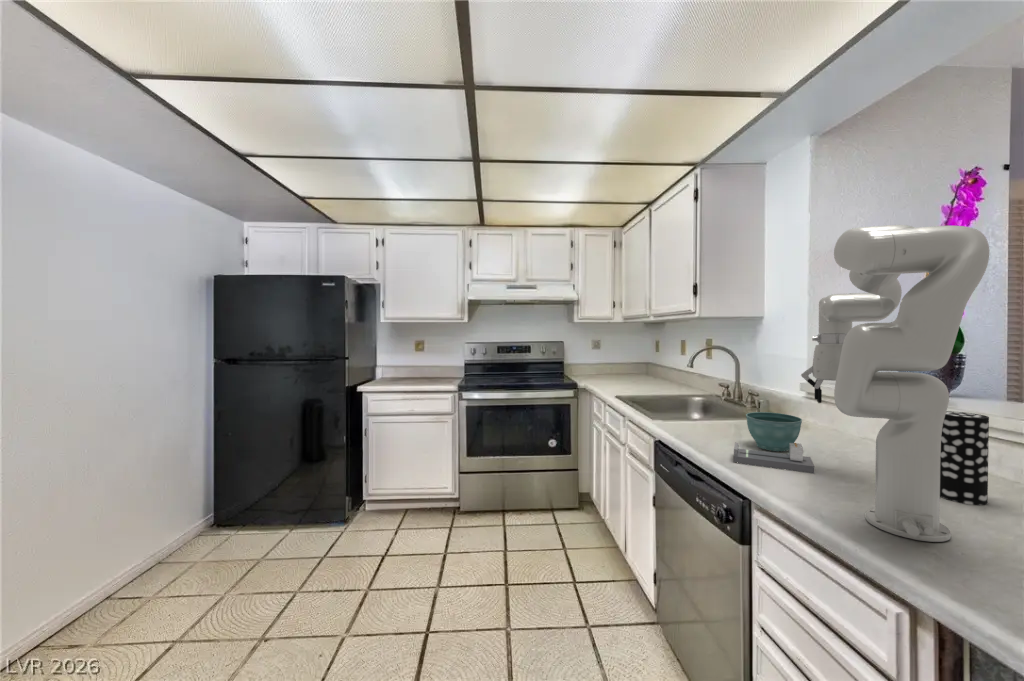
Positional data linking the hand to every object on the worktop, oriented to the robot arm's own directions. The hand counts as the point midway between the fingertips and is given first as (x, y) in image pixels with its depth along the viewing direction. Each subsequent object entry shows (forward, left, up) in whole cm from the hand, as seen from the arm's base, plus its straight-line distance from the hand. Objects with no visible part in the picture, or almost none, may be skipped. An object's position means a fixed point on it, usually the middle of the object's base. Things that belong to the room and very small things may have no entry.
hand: (834, 402), depth 118 cm
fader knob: (0, +9, -17) cm, 20 cm away
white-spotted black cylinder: (-9, -23, -20) cm, 32 cm away
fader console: (0, +15, -20) cm, 25 cm away
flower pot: (+19, +14, -20) cm, 31 cm away
